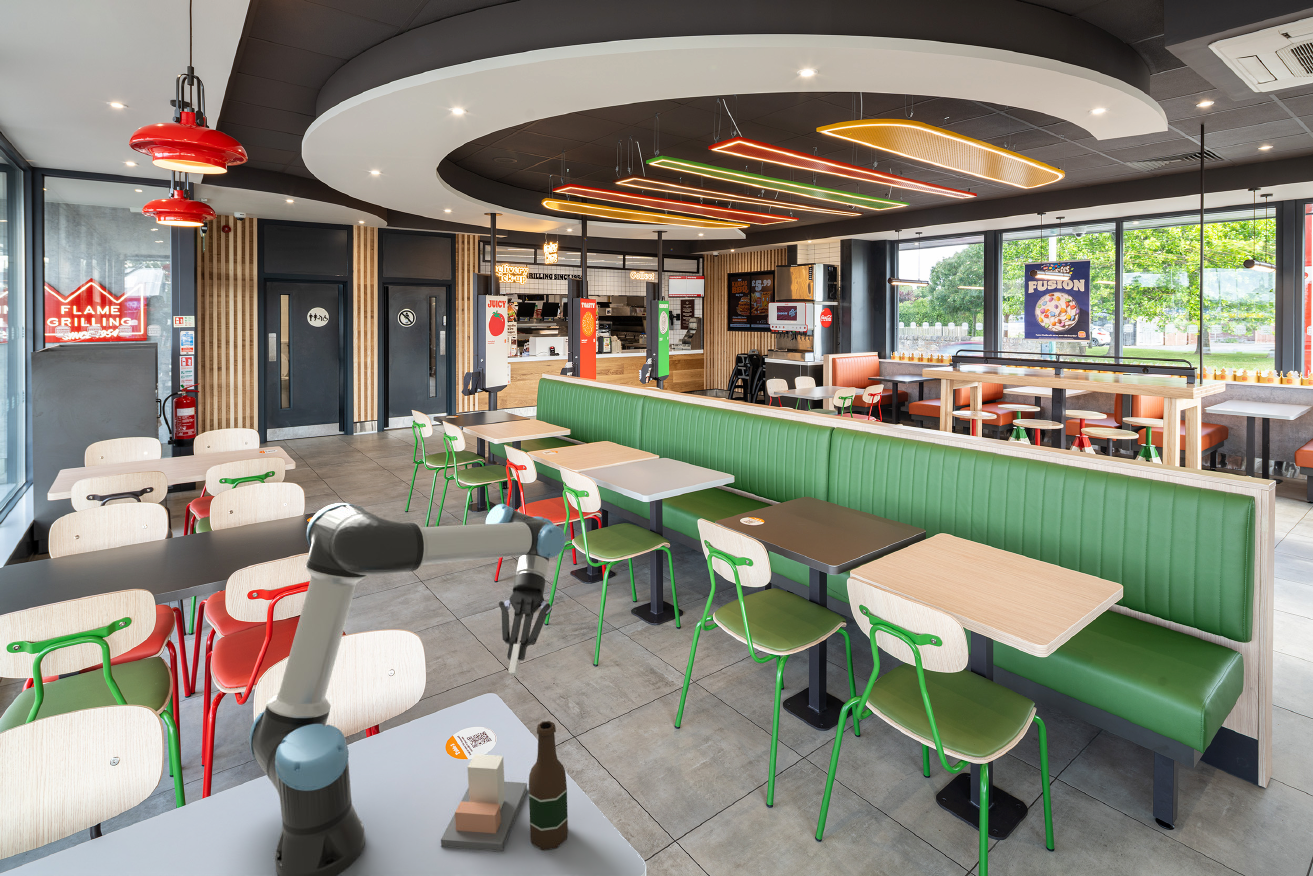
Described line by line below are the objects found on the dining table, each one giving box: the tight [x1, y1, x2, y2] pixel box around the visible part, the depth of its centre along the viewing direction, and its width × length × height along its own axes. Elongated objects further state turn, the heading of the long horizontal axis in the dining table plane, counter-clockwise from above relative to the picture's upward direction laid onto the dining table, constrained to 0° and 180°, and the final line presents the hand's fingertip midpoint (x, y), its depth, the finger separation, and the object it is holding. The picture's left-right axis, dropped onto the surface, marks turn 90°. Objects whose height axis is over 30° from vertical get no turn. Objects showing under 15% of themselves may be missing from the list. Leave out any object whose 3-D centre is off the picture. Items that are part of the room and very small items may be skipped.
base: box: [440, 780, 528, 852], centre depth 135 cm, size 12×17×2 cm
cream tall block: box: [467, 753, 505, 810], centre depth 135 cm, size 6×4×10 cm, turn 85°
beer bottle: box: [528, 720, 569, 851], centre depth 128 cm, size 8×8×24 cm
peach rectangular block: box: [454, 800, 501, 833], centre depth 131 cm, size 8×3×4 cm, turn 85°
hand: (512, 674), depth 152 cm, fingers closed
